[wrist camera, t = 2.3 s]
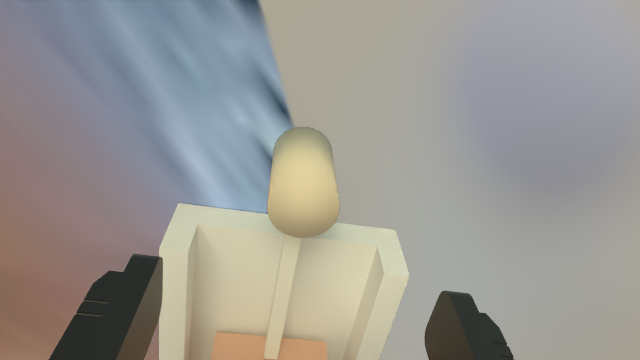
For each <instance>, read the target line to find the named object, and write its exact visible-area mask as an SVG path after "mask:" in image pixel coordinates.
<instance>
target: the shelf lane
mask: <svg viewBox="0 0 640 360" xmlns="http://www.w3.org/2000/svg"><path fill="white" fill-rule="evenodd" d="M283 238H284V233H282V232H281V231H279V230H278V229H277V228H276V227H275V226H274V225H273V224H272V222H271V221H270V218H269V216H268V214H263V213H255V212H247V211H239V210H231V209H223V208H214V207H206V206H198V205H190V204H182V203H178V205H177V208H176V210H175V212H174V215H173V217H172V219H171V222H170V224H169V227H168V229H167V231H166V234H165V236H164V238H163V241H162V243H161V245H160V248H159V257H162V258H163V293H162V306H161V311H160V316H159V360H210V358H211V353H212V348H213V343H214V338H215V333H216V332H225V333H236V334H247V335H258V336H267V332H268V326H269V320H270V314H271V308H272V302H273V297H274V291H275V285H276V279H277V273H278V267H279V262H280V256H281V250H282V244H283ZM409 277H410V275H409V272H408V269H407V265H406V262H405V259H404V256H403V253H402V249H401V246H400V243H399V239H398V236H397V233H396V230H392V229H384V228H376V227H368V226H360V225H352V224H344V223H336V222H335V223H334V224H333V226H332V227H331V228H330V229H328V230H327V231H326V232H324V233H322V234H320V235H317V236H314V237H309V238H301V242H300V247H299V252H298V257H297V262H296V267H295V272H294V277H293V283H292V288H291V293H290V298H289V303H288V308H287V313H286V318H285V323H284V328H283V334H282V338H292V339H303V340H314V341H325V342H326V344H327V360H380V357H381V354H382V351H383V348H384V346H385V343H386V340H387V338H388V335H389V332H390V329H391V326H392V324H393V321H394V318H395V316H396V313H397V310H398V307H399V305H400V302H401V299H402V296H403V294H404V291H405V288H406V285H407V283H408V280H409Z"/></svg>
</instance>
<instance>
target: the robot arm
mask: <svg viewBox="0 0 640 360" xmlns="http://www.w3.org/2000/svg"><path fill="white" fill-rule="evenodd" d="M162 293H163V258H162V257H157V256H148V255H139V254H134V255H132V257H131V259H130V261H129V263H128V264H127V266H126V268H125V270H124V272H116V271H108V272H107V273H106V274H105V275H103V276H102V277H101V278H100V279H98V280H97V281H96V282H94V283H93V285H92V286H91V288H90V290H89V292H88V293H87V295H86V297H85V298H84V302H82V304H81V305H80V307H79V309H78V310H77V313H76V315H75V316H74V317H73V319H72V321H71V322H70V324H69V326H68V327H67V329H66V331H65V333H64V334H63V336H62V338H61V339H60V341H59V343H58V345H57V346H56V348H55V350H54V351H53V353H52V355H51V356H50V358H49V360H144V358H145V355H146V352H147V350H148V347H149V344H150V342H151V339H152V336H153V333H154V331H155V328H156V325H157V322H158V319H159V316H160V311H161V306H162ZM425 347H426V351H427V355H428V358H429V360H513V355H512V353H511V351H510V349H509V347H507V343H506V341H505V339H504V337H503V335H502V333H501V331H500V329H499V327H498V326H497V325H496V324H495V323H494V322H493V321H492V320H491V319H490V317H489V316H488V315H487V314H486V313H479V311H478V309H477V307H476V305H475V303H474V300H473V298H472V297H471V295H470V294H468V293H460V292H451V291H442V292H441V294H440V295H439V298H438V300H437V302H436V305H435V307H434V310H433V312H432V315H431V317H430V319H429V322H428V324H427V327H426V331H425Z"/></svg>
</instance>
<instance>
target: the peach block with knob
mask: <svg viewBox="0 0 640 360" xmlns="http://www.w3.org/2000/svg"><path fill="white" fill-rule="evenodd" d="M339 207H340V205H339V199H338V191H337V184H336V177H335V170H334V162H333V155H332V148H331V145H330V143H329V141H328V139H327V138H326V137H325V136H324V135H323V134H322V133H321V132H319V131H317V130H316V129H313V128H309V127H296V128H292V129H290V130H288V131H286V132H285V133H283V134H282V135H281V136H280V137H279V138H278V140H277V141H276V143H275V146H274V151H273V160H272V169H271V178H270V187H269V196H268V204H267V211H268V216H269V218H270V221H271V222H272V224H273V225H274V226H275V227H276V228H277V229H278V230H279V231H281V232H282V233H284V238H283V244H282V250H281V256H280V262H279V267H278V273H277V279H276V285H275V291H274V297H273V302H272V308H271V314H270V320H269V326H268V332H267V336H258V335H247V334H236V333H225V332H216V333H215V338H214V343H213V348H212V353H211V358H210V360H327V344H326V342H325V341H314V340H303V339H292V338H282V334H283V328H284V323H285V318H286V313H287V308H288V303H289V298H290V293H291V288H292V283H293V277H294V272H295V267H296V262H297V257H298V252H299V247H300V242H301V238H309V237H314V236H317V235H320V234H322V233H324V232H326V231H327V230H328V229H330V228H331V227H332V226H333V224H334V223H335V222H336V220H337V218H338V215H339V210H340V208H339Z"/></svg>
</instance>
